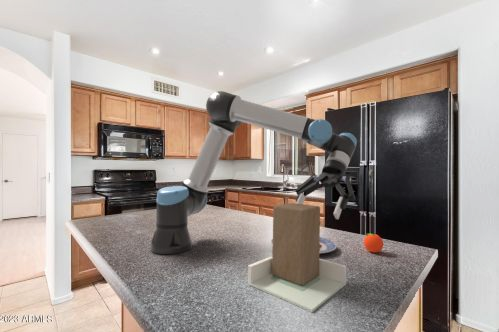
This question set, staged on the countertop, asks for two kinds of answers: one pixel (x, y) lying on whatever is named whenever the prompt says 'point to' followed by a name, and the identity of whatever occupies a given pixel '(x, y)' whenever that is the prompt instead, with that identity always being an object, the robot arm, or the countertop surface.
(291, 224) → the wooden block
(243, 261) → the countertop surface
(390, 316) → the countertop surface
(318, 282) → the corner arena
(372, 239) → the clementine
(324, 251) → the ceramic plate
